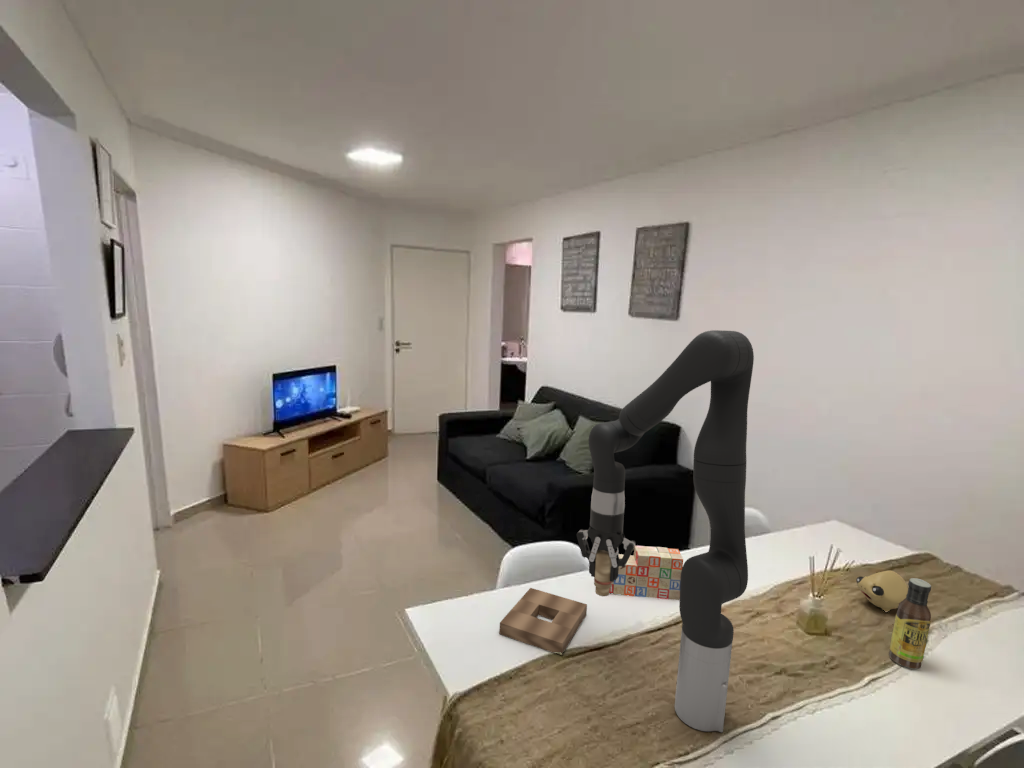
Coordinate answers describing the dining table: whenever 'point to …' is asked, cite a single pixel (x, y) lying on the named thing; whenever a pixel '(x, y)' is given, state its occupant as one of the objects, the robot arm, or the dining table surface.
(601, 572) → the peg
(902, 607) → the sauce bottle
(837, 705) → the dining table surface
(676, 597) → the stack of blocks
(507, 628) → the board
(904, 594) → the tan toy head
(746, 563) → the robot arm
